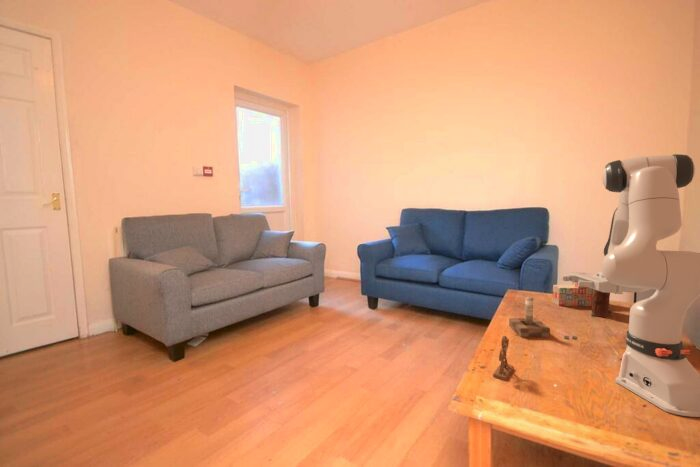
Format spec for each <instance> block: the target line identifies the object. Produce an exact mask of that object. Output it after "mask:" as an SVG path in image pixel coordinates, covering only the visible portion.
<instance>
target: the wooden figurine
mask: <svg viewBox="0 0 700 467" xmlns="http://www.w3.org/2000/svg"><path fill="white" fill-rule="evenodd" d="M610 298H611V293H608V292H601V291H597V290H595V289H593V298H592V306H591V314H592V315H593V316H595V317H601V318H606V317H608V316H609V310H610Z"/></svg>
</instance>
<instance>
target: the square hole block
mask: <svg viewBox="0 0 700 467" xmlns="http://www.w3.org/2000/svg"><path fill="white" fill-rule="evenodd" d="M508 321H509V322H508V326H510V327H511V328H512V329H511V328H510V327H509V328H510V329H511V330H512V331H513V332H515V333H516V334H517V336H519V337H520V338H550V336H551V328H550V326H548V325H546V324H545V323H544V322H542V321H541V320H539V319H538V318H535V317H533V325H525V317H522V318H521V317H517V318H516V317H515V318H514V317H513V318H512V317H510V318H508Z"/></svg>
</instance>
